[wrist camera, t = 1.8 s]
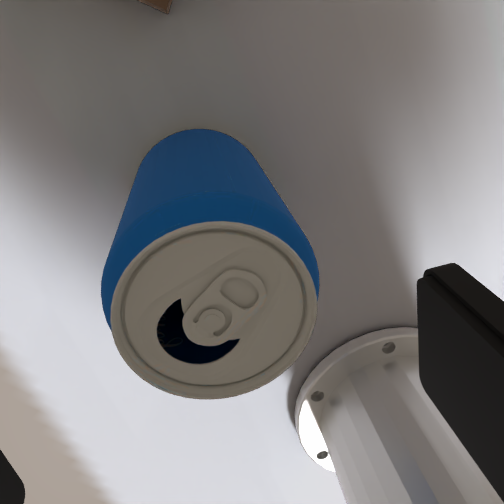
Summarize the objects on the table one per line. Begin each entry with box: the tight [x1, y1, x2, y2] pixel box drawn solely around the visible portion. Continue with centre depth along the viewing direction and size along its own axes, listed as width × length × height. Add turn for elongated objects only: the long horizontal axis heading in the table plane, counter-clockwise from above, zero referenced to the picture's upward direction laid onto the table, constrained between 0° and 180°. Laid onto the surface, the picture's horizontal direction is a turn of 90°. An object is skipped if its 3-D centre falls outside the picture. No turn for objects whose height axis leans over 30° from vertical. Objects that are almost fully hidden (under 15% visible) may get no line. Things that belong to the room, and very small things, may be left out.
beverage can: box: [101, 129, 319, 399], centre depth 17 cm, size 6×6×12 cm
